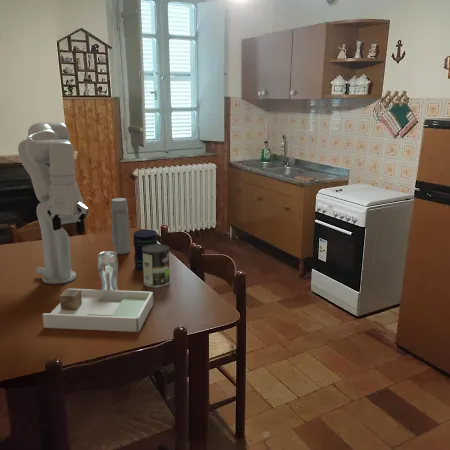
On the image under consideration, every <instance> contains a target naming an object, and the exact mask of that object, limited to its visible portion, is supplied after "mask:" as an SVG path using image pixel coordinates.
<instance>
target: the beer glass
mask: <svg viewBox="0 0 450 450" xmlns="http://www.w3.org/2000/svg"><path fill="white" fill-rule="evenodd" d="M118 260H119V259H118V254H117V253H116V252H115V251H112V250H106V251H101V252H99V253H98V254H97V267H98V269H97V270H98V272H99V276H100V281H101V290H119V288H118V275H119V261H118Z"/></svg>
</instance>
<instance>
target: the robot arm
mask: <svg viewBox="0 0 450 450" xmlns="http://www.w3.org/2000/svg"><path fill="white" fill-rule="evenodd" d="M17 151H18V156H19V160H20V162H21V164H22V166H23V167H24V170H25V171H26V172H27V173H28V175H29V176H30V178H31V183H32V186H33V190H34V194H35V196H36V199H37V200H38V201H39V203H38V204H37V206H36V210H35V211H36V216H37V220H38V223H39V227H40V233H41V240H42V248H43V249H42V250H43V259H44V267H42V266H37V267H36V270H35V271H36V274H38V275H39V274H40V275H42V276H41V279H42V280H41V281H42V282H43V283H44V284H49V285H61V284H65V283H67V284H68V283H70V282H71V281H74V280H75V279H76V277H77V273H76V272H75V271H74V270H72V262H71V261H72V260H71V251H70V249H71V248H70V240H69V233H68V231H66V229H64V227H62V225H65V224H71V223H73V224H74V223H75V231H76V234H81V233H83V232H85V223H84V221H85V220H86V218H87V217H88V214H89V212H90V211H89V210H90V208H89V207H87V206H86V205H85V203H84V200H83V197H82V194H81V191H80V189H79V188H80V187H79V185H78V183H77V178H76V177H77V176H76V175H77V174H76V165H75V149H74V145H73V143H72V142H71V141H70V131H69V128H68V126H66V124H64V123H62V122H37V123H36V122H35V123H34V124H32V125H31V126H29V128H28V131H27V138H26V139H24V140H22V141H20V142H19V144H18V147H17ZM48 164H49V165H48Z"/></svg>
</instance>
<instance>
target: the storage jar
mask: <svg viewBox="0 0 450 450" xmlns="http://www.w3.org/2000/svg"><path fill="white" fill-rule="evenodd" d="M132 236H133V239H132V240H133V247H134V255H133V258H134V259H133V260H134V261H133V262H134V269H136V270H137V271H141V272H143V253H142V248H143V247H144V246H147V245H151V244H159V243H158V232H157V230H154V229H140V230H136V231H134V232H133V235H132Z"/></svg>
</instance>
